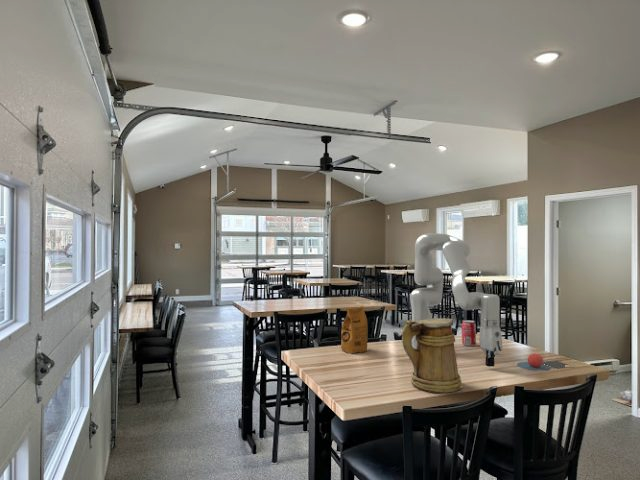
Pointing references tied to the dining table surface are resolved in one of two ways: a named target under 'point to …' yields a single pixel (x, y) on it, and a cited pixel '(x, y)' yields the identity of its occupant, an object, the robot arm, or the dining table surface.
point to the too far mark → (555, 364)
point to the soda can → (468, 333)
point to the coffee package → (354, 331)
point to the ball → (535, 360)
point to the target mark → (527, 366)
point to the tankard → (432, 355)
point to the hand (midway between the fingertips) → (489, 365)
